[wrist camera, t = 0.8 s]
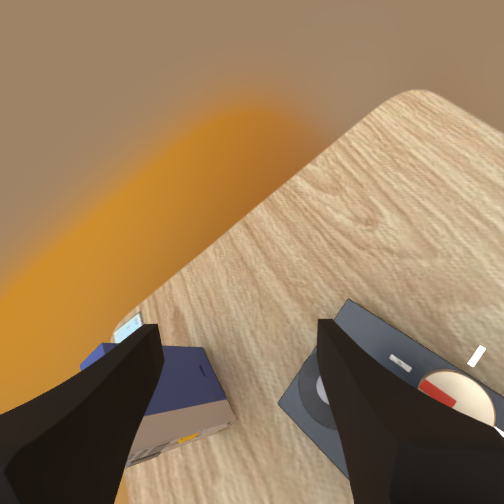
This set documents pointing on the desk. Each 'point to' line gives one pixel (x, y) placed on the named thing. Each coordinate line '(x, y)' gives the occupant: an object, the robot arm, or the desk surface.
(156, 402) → the walkman
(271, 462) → the desk surface
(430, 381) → the knob
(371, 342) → the hot plate
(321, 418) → the burner
